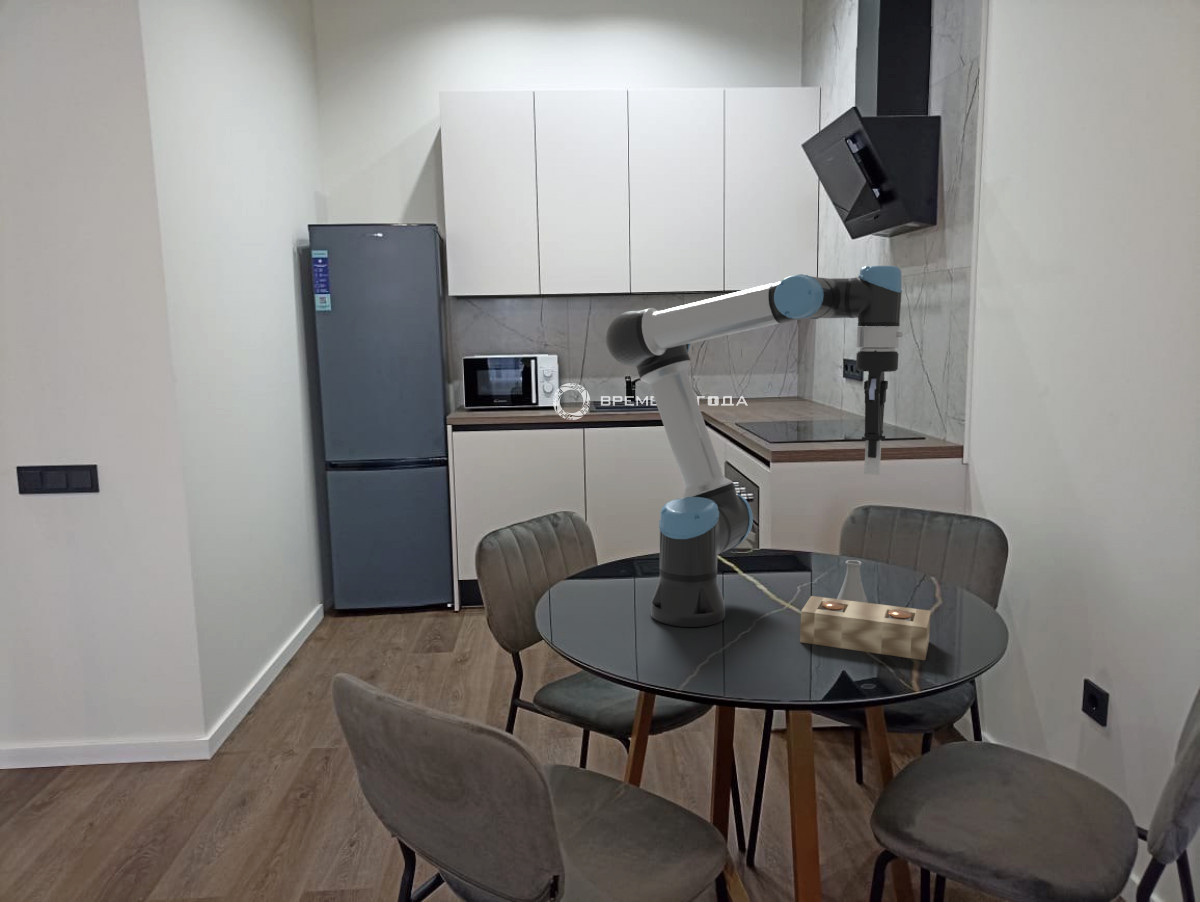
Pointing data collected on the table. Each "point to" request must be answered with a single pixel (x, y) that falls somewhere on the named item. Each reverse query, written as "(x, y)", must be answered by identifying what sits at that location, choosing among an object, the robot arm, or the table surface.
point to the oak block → (866, 628)
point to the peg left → (832, 606)
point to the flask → (852, 583)
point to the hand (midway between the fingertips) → (872, 473)
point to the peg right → (899, 614)
